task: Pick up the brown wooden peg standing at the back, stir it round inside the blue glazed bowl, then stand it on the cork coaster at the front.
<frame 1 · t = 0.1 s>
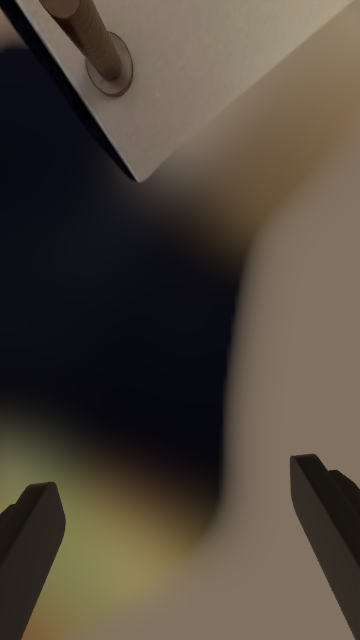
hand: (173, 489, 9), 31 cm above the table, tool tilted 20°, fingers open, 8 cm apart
brown wooden peg: (110, 67, 25), on the table
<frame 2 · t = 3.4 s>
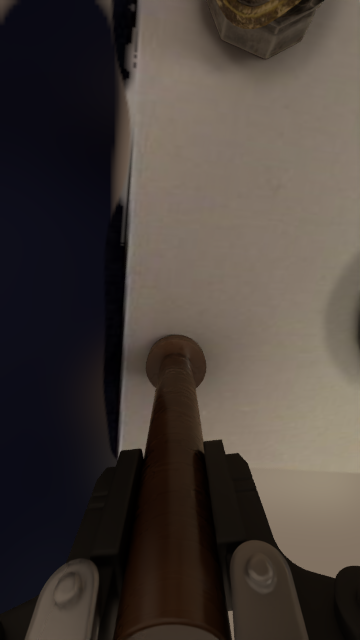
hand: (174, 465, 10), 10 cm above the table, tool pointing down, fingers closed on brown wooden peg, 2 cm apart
brown wooden peg: (176, 361, 20), on the table, touching gripper
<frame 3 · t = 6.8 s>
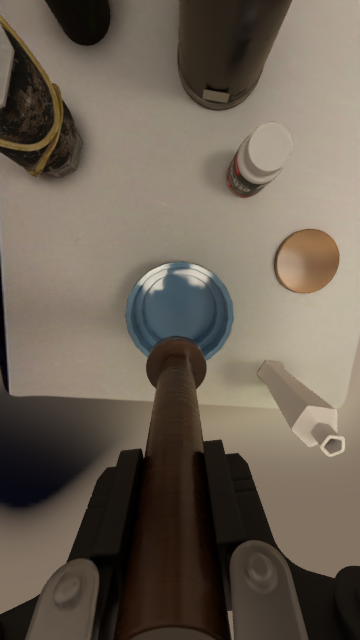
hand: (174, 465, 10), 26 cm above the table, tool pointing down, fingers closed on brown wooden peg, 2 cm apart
pill bottle: (245, 177, 31), on the table
brown wooden peg: (176, 362, 20), point 15 cm above the table, touching gripper
cup: (85, 15, 27), on the table
lantern: (56, 147, 30), on the table
perfume bottle: (271, 372, 37), on the table
bowl: (179, 308, 34), on the table
coaster: (304, 262, 33), on the table
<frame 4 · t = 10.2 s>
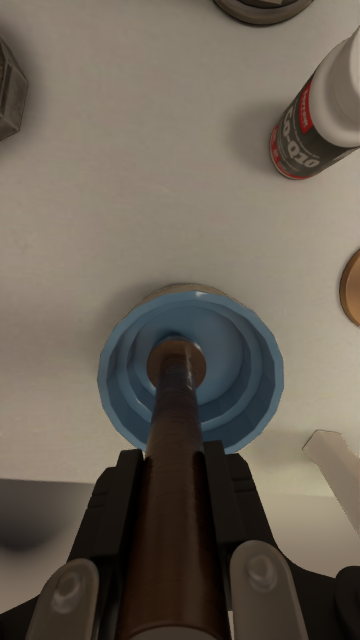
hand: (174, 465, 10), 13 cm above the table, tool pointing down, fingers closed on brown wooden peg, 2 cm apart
pill bottle: (299, 146, 19), on the table
brown wooden peg: (176, 362, 20), point 2 cm above the table, touching gripper
perfume bottle: (324, 446, 24), on the table
bowl: (187, 354, 22), on the table
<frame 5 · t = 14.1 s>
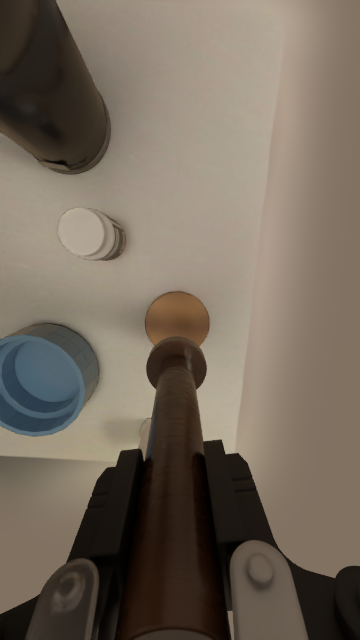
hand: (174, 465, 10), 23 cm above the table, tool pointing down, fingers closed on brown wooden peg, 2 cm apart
pill bottle: (107, 240, 30), on the table
brown wooden peg: (176, 363, 20), point 13 cm above the table, touching gripper
bowl: (53, 368, 33), on the table
coaster: (177, 322, 32), on the table
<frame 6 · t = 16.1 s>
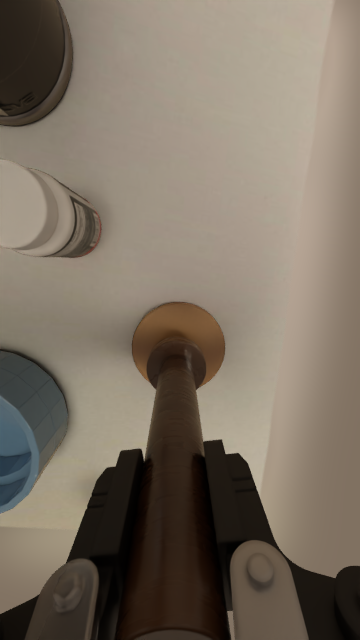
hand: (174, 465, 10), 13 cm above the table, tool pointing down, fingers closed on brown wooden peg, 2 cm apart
pill bottle: (74, 227, 20), on the table
brown wooden peg: (176, 363, 20), point 3 cm above the table, touching gripper
bowl: (4, 409, 24), on the table
coaster: (178, 346, 23), on the table
when the fingers open (11 cm above the table, at t = 17.0 s): brown wooden peg stays where it is, resting on coaster.
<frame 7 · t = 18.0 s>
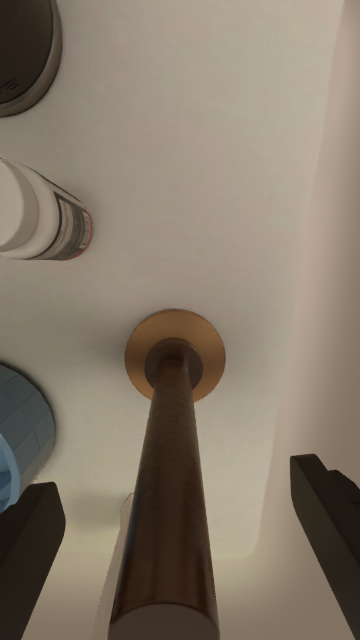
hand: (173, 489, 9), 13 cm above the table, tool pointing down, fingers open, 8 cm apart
pill bottle: (63, 227, 19), on the table
brown wooden peg: (173, 363, 20), point 1 cm above the table, touching coaster
perfume bottle: (143, 508, 24), on the table
coaster: (175, 357, 21), on the table
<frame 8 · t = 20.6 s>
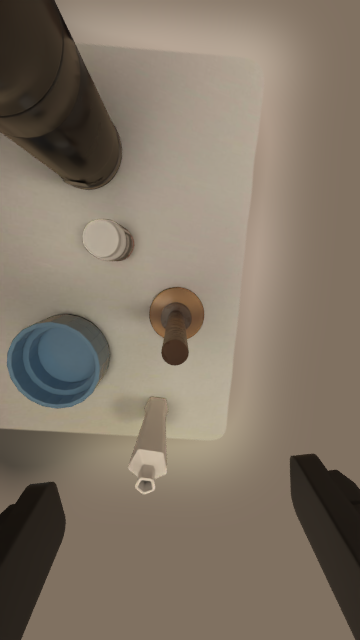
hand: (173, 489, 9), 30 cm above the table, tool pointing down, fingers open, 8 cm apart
pill bottle: (117, 243, 36), on the table
brown wooden peg: (176, 316, 37), point 1 cm above the table, touching coaster
perfume bottle: (157, 406, 42), on the table
bowl: (70, 352, 39), on the table
coaster: (176, 314, 38), on the table
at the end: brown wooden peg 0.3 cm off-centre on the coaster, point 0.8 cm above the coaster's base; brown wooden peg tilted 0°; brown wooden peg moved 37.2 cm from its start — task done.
